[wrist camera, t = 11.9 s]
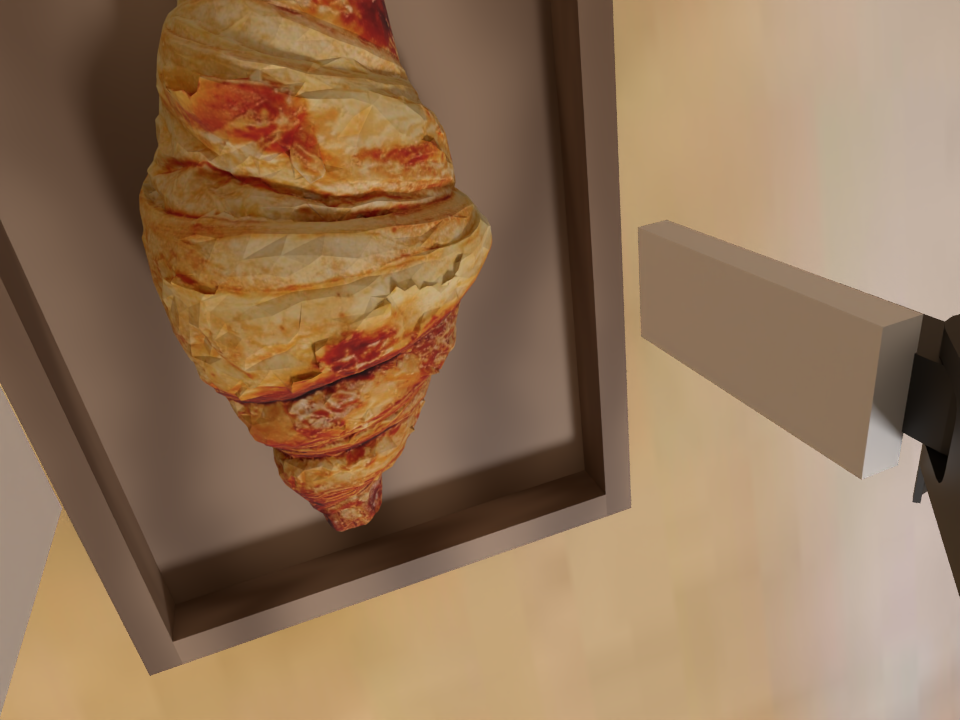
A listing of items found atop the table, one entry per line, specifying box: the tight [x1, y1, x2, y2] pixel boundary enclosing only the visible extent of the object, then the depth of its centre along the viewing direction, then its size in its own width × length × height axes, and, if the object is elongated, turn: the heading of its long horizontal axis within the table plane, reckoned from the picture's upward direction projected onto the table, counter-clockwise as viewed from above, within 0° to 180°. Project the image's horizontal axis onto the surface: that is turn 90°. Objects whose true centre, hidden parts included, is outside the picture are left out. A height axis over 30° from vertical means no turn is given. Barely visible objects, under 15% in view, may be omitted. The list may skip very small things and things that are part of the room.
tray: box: [0, 0, 631, 676], centre depth 23 cm, size 20×29×3 cm
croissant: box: [139, 0, 492, 532], centre depth 21 cm, size 21×10×8 cm, turn 2°
